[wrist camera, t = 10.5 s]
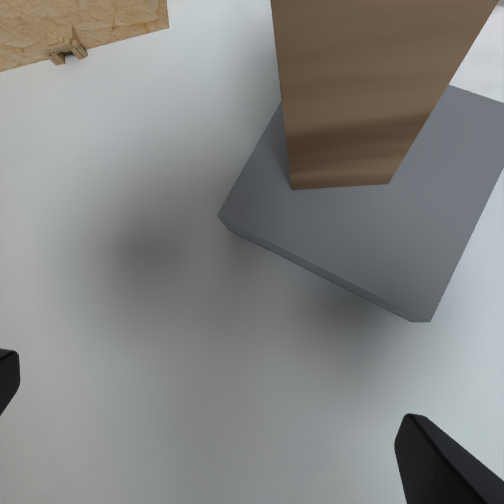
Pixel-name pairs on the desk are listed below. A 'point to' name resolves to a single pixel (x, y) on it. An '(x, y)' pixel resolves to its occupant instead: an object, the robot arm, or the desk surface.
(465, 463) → the robot arm
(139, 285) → the desk surface
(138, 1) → the model pyramid
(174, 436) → the desk surface
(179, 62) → the desk surface
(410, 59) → the walnut box
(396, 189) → the plate
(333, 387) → the desk surface
